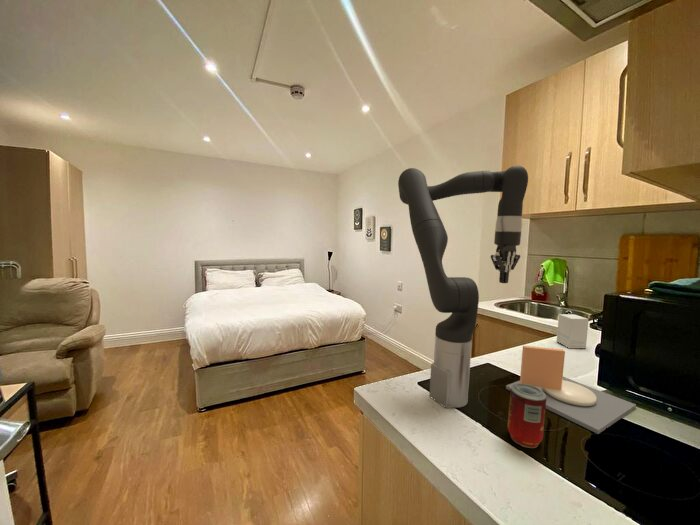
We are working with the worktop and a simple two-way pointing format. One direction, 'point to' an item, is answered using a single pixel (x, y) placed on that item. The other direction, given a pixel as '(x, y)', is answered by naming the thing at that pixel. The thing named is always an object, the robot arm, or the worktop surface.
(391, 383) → the worktop surface
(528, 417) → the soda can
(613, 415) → the board
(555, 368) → the dial lever
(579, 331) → the white tall block
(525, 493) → the worktop surface
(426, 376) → the worktop surface
